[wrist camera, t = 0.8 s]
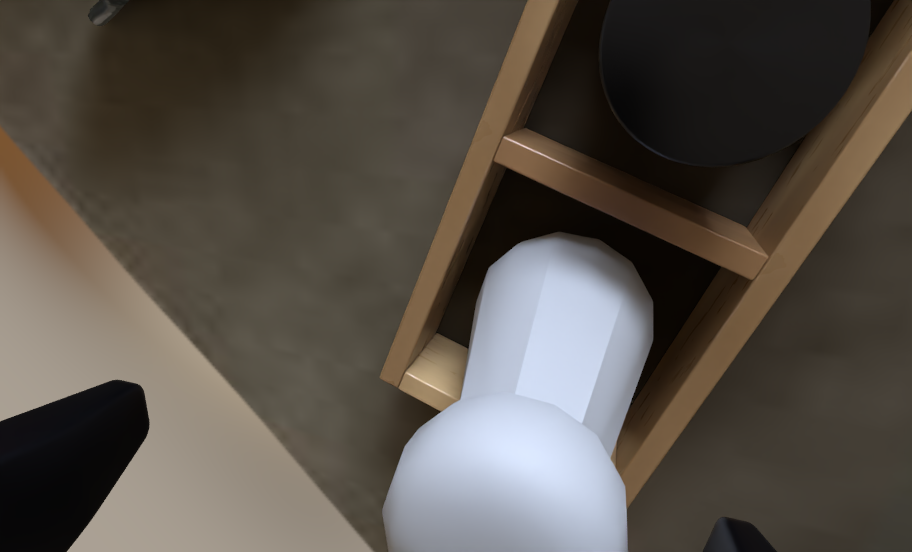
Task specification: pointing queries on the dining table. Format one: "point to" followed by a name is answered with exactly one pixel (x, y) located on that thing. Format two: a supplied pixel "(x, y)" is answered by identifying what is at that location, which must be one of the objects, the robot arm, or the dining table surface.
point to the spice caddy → (654, 227)
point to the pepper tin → (728, 72)
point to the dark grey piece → (105, 11)
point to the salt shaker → (532, 411)
